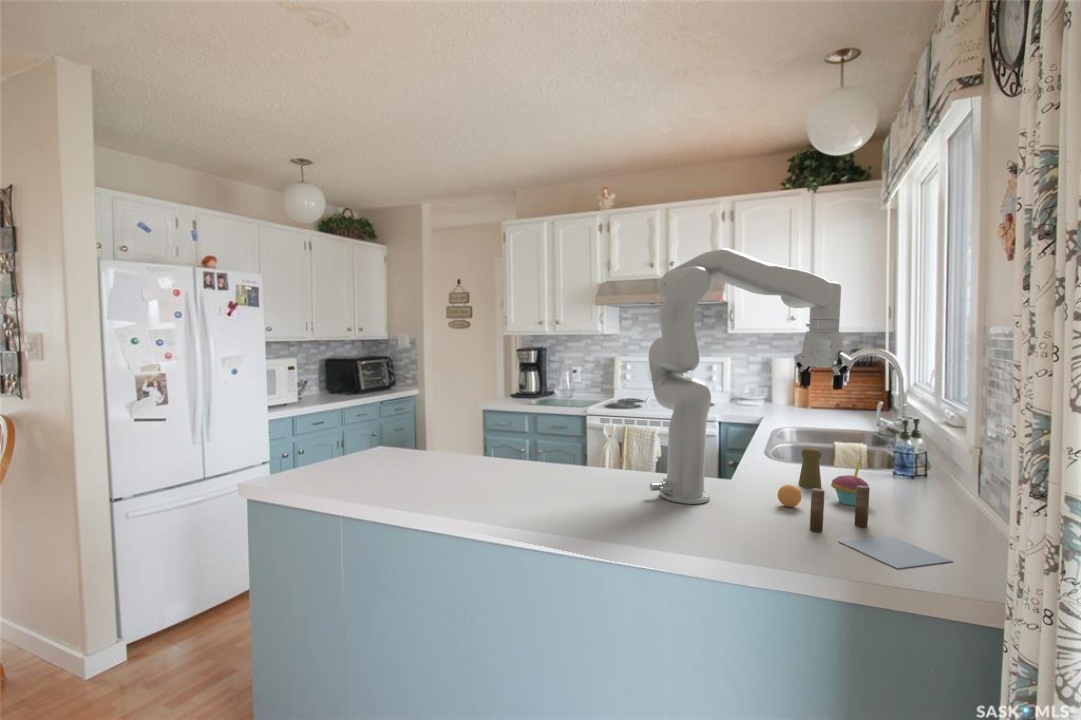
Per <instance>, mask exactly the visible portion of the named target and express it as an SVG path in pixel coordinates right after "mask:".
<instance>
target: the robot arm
mask: <svg viewBox="0 0 1081 720" xmlns="http://www.w3.org/2000/svg"><path fill="white" fill-rule="evenodd" d="M720 282H721V283H725V284H726V285H727V284H728V285H730V286H733V287H736V288H739V289H741V290H744V291H747V292H750V293H752V294H755V295H761V296H762V295H763V296H780V299H781V301H782V302H783V304H784V305H785V306H787V307H789V308H793V309H803V308H806V309H807V308H809V321H808V322H806V323H805V326H806V327H807V328H808V330H807V331H806V332H805V335H804V338H803V342H802V350H801V352H800V353H797V355H794V356H793V359H794V361H795V363H796V364H795V365H796V367H797V368H798V370H799V372H800V373H801V375H800V378H801V379H800V382H801V384H800V385H801V387H810V386H811V375H812V372H811V371H810V370H811V369H812V368H813V367H814V368H825V369H826V368H827V369H828V368H829V369H830V368H831V369H832V371H833V372H834V374H833V376H832V377H833V378H832V379H833V380H832V381H833V382H832V390H836V391H837V390H842V389H843V386H844V375H845V376H846V373H847V372H849V370H851V367H852V365H853V363H854V361H855V360H854V359H853V358H851V357H850V356H848V355H847V354H845V353H844V343H843V336H842V332H841V331H840V320H841V319H840V318H841V299H842V298H841V297H842V286H841V284H840V283H838V282H836V281H829V280H827V279H825V278H824V277H822V276H820V275H817V274H814V273H811V272H809V271H805V270H802V269H798V268H797V269H796V268H792V267H788V266H783V265H779V264H773V263H768V262H765V261H762V260H760V259H757V258H755V257H753V256H750V255H747V254H744V253H743V252H742V253H741V252H739V251H736V250H735V249H734V250H733V249H730V248H720V249H715V250H711V251H707V252H703V253H701V254H699V255H697V256H696V257H693V258H692V259H690V260H688V261H686V262H684V263H682V264H680V265H678V266H676V267H674V268H672V269H669V271H667V272H665V273H664V274H663V276H662V277H661V278H660V280H659V292H660V294H661V296H662V297H663V298H664V300H663V303H662V304H661V305H662V306H661V309H660V317H659V319H660V331H661V336H660V337H657V339H655V340H654V341H653V342H652V343H651V345H650V347H649V351H648V365H649V371H650V372H649V373H650V376H651V384H652V389H653V393H654V396H655V399H656V401H657V402H658V404H659V405H660V406H662V407H663V408H665V409H668V410H672V415H671V418H670V421H669V426H668V432H667V437H668V438H667V441H668V442H667V468H666V469H667V470H666V478H665V477H664V478H662V481H660V483H659V482H658V483H657V482H654V483H650V484H649V490H650V492H654V491H655V492H657V491H658V492H659V493H660V494H659V495H660V497H662V498H663V499H665V500H667V501H670V502H674V503H679V504H686V505H687V504H688V505H697V504H699V505H700V504H704V503H706V502H709V501H710V499H711V498H710V497H711V495H710V493H709V492H707V491H706V490H705V469H706V468H705V467H706V445H707V444H706V439H707V437H706V436H707V423H708V417H709V413H710V412H709V411H710V408H711V403H712V395H711V394H712V393H711V391H710V389H709V386H707V384H706V383H705V382H703V381H702V380H700V379H698V378H695V377H691V376H684V374H689V373H691V372H693V371H695V370H696V368H697V367H698V366H699V363H700V349H699V345H698V344H699V343H698V338H697V331H696V322H695V315H696V314H695V313H696V310H697V308H698V305H699V303H700V302H701V300H702V299H703V298H704V297H705V295H706V294H707V293H708V292H709V290H710V287H711V283H713V284H714V283H720ZM843 363H844V365H843Z"/></svg>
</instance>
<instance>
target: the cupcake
mask: <svg viewBox="0 0 1081 720" xmlns="http://www.w3.org/2000/svg"><path fill="white" fill-rule="evenodd" d="M861 459H862V458H859V460H857V463H856V467H855V470H854V475H839V476H837V477H835V478H833V479H832V480H831V485H830V487H831V488H833V489H834V490H835V492H836V495H837V498H838V502H839V503H840V502H841V503H840V504H843V505H846V504H848V505H847V506H856V487H857V486H867V487H870V485H869V483H868V482H867V481H866V480H864V479H862V478H860V477H858V473H859V469H860V465H861Z"/></svg>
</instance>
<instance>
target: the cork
mask: <svg viewBox="0 0 1081 720" xmlns="http://www.w3.org/2000/svg"><path fill="white" fill-rule="evenodd" d="M801 457H802V464H801V469H800V474H799V479H798V484H799V485H800V487H801V486H803V487H802V488H805V487H807V488H806V489H811V488H819V489H822V480H821V467H820V460H821V458H822V452H821V450H820V449H819V448H816V447H810V446H809V447H804V448H802V450H801ZM799 485H798V486H799Z"/></svg>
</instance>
